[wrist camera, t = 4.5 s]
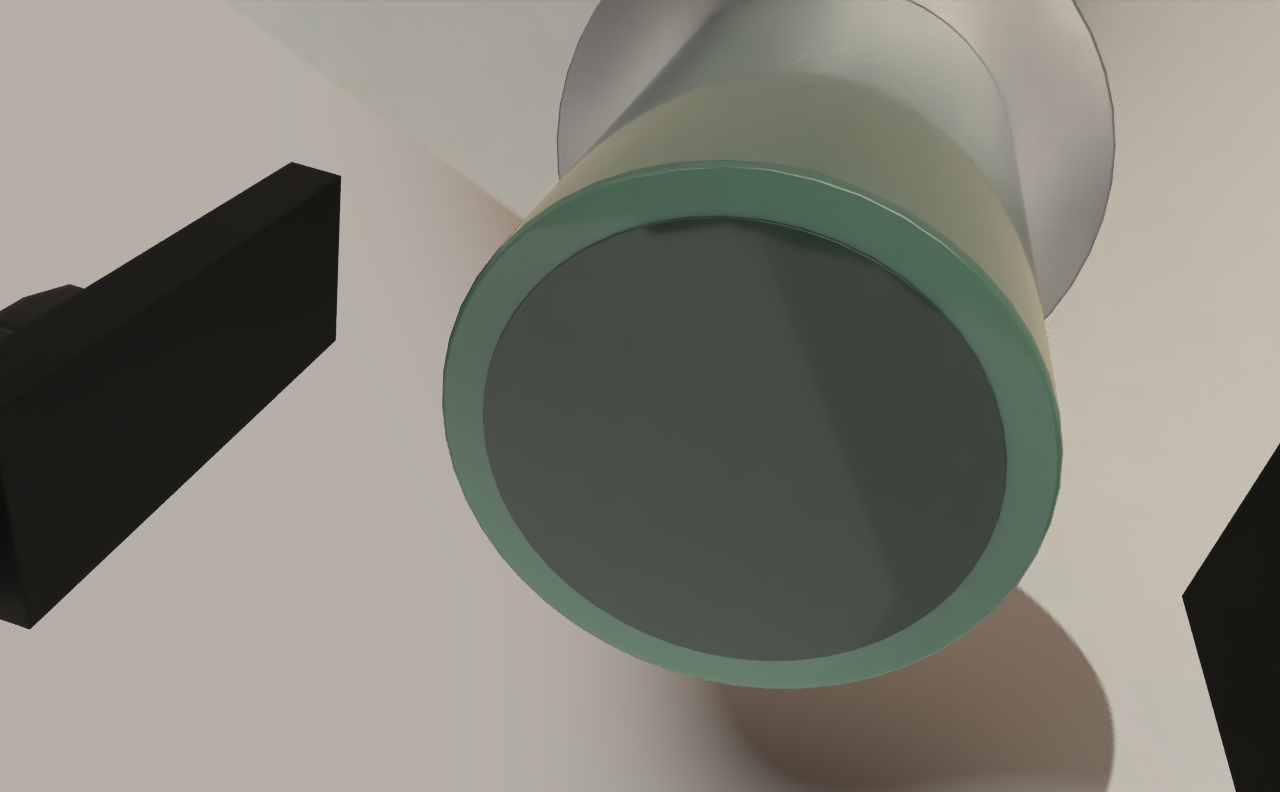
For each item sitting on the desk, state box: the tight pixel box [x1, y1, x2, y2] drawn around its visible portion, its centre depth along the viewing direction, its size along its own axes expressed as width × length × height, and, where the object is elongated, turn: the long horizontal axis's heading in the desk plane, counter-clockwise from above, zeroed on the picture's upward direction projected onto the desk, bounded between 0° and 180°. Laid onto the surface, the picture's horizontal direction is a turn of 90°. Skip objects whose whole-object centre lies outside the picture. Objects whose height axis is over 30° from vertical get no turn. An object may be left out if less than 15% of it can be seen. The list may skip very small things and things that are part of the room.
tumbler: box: [442, 0, 1063, 689], centre depth 17 cm, size 8×8×10 cm
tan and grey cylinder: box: [557, 0, 1116, 320], centre depth 30 cm, size 13×13×20 cm
